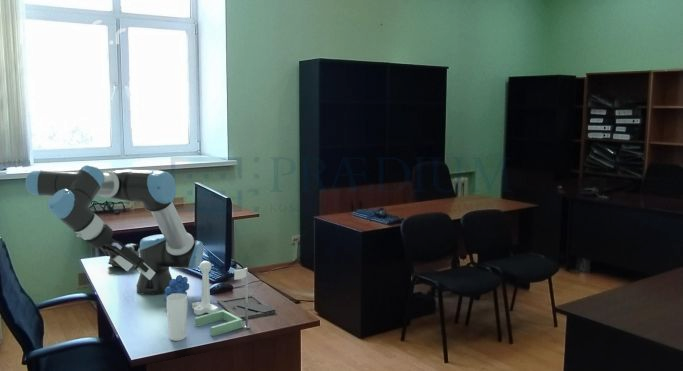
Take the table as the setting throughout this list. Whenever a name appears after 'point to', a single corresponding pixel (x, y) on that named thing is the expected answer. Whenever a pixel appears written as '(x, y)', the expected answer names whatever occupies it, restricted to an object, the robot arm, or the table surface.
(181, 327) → the drinking glass
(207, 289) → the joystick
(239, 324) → the green u-shaped piece
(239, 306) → the picture frame
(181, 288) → the grapes
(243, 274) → the flag post
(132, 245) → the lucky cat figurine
